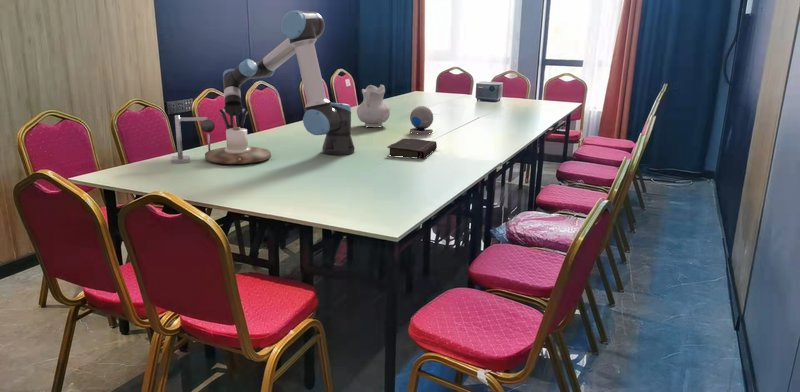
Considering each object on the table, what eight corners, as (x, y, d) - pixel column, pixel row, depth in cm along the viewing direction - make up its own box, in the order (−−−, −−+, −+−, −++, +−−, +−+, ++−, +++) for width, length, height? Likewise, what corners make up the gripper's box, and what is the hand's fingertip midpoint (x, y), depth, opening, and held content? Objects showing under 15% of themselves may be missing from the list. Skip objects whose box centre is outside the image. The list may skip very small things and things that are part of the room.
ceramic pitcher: (387, 132, 341) (391, 88, 334) (353, 128, 341) (357, 84, 334) (388, 126, 362) (392, 84, 355) (356, 122, 362) (360, 81, 355)
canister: (249, 148, 272) (248, 125, 269) (251, 153, 262) (250, 129, 259) (224, 149, 269) (223, 125, 266) (225, 154, 259) (223, 130, 256)
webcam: (436, 132, 339) (437, 106, 334) (425, 135, 328) (426, 108, 324) (417, 129, 345) (417, 103, 341) (405, 132, 335) (406, 106, 331)
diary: (436, 150, 294) (437, 140, 292) (424, 161, 271) (424, 150, 269) (400, 147, 299) (401, 137, 297) (385, 157, 276) (385, 146, 274)
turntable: (267, 148, 280) (267, 145, 279) (274, 162, 254) (273, 158, 254) (205, 151, 271) (204, 147, 271) (205, 165, 246) (204, 161, 245)
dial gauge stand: (216, 157, 264) (213, 113, 258) (216, 161, 257) (214, 116, 252) (172, 159, 258) (168, 114, 253) (171, 163, 252) (167, 117, 246)
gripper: (247, 103, 285) (250, 144, 274) (218, 103, 281) (221, 145, 271) (247, 93, 279) (250, 135, 268) (218, 93, 275) (220, 136, 264)
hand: (236, 140), depth 269 cm, fingers closed
